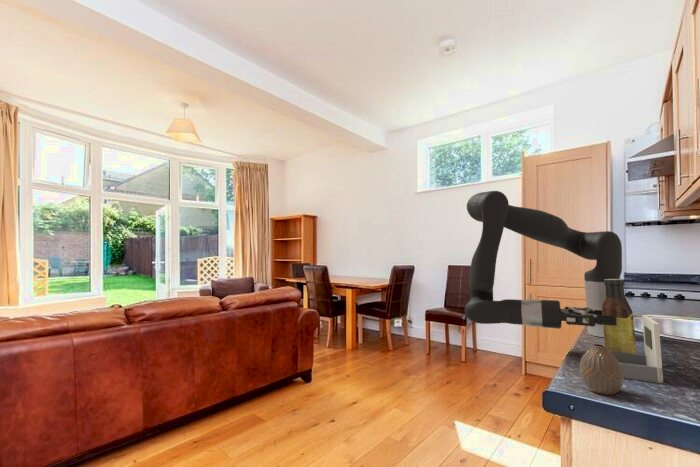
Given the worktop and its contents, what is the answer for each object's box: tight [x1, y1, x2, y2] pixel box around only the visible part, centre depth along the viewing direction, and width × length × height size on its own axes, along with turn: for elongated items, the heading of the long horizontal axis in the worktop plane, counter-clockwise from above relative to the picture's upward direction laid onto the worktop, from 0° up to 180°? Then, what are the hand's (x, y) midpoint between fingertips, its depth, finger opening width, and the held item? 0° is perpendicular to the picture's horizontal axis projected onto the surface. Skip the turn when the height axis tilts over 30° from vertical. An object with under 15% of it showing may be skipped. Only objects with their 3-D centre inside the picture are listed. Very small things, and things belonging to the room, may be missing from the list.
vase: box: [578, 343, 625, 396], centre depth 66 cm, size 7×7×9 cm
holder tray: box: [610, 314, 664, 384], centre depth 76 cm, size 10×11×12 cm
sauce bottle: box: [602, 278, 638, 354], centre depth 85 cm, size 6×6×20 cm
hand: (613, 317), depth 85 cm, fingers open, 8 cm apart
